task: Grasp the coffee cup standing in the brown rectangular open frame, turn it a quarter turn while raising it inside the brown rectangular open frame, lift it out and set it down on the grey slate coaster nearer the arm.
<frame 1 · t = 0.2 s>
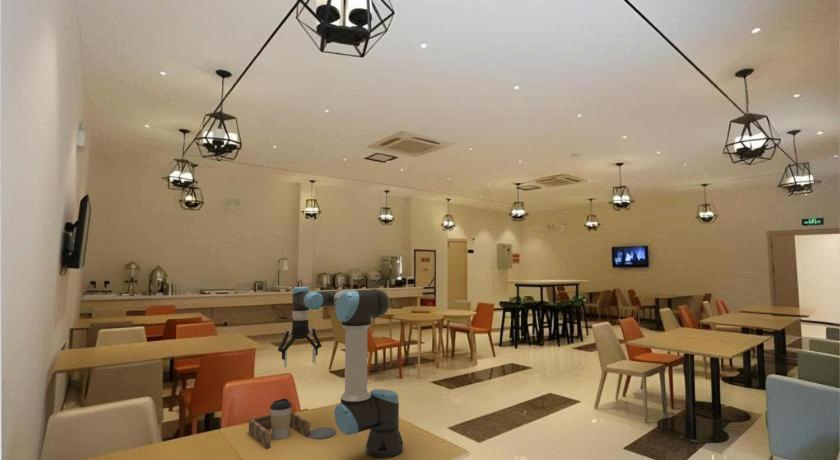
hand: (299, 364, 202), 28 cm above the table, fingers open, 13 cm apart
coffee cup: (280, 436, 187), on the table
brown rectangular open frame: (280, 436, 187), on the table
coaster: (322, 433, 189), on the table
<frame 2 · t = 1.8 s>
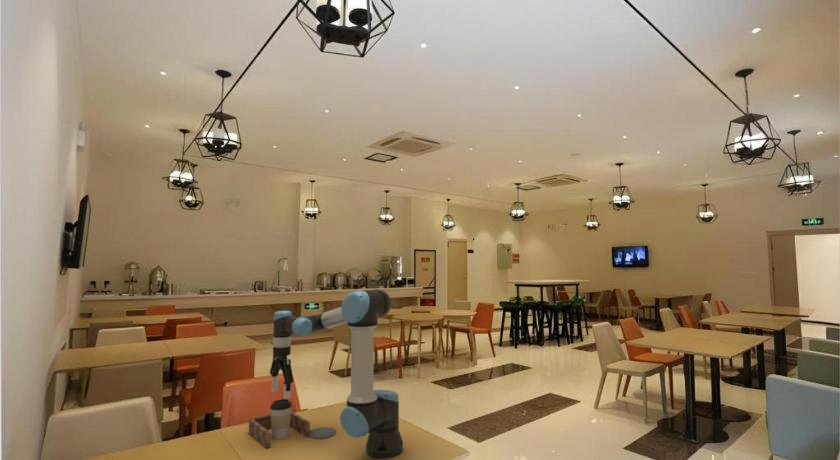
hand: (280, 394, 189), 18 cm above the table, fingers open, 13 cm apart
nothing on the table moved.
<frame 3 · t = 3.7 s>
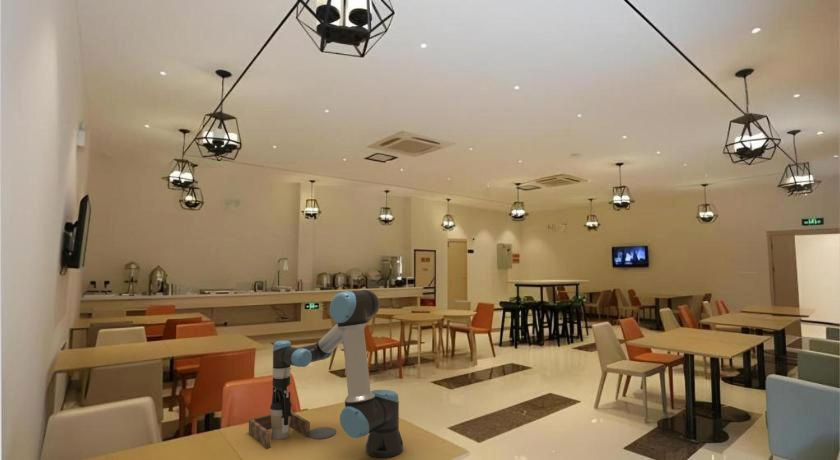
hand: (280, 429, 188), 3 cm above the table, fingers closed on coffee cup, 8 cm apart
coffee cup: (280, 436, 187), on the table, touching gripper
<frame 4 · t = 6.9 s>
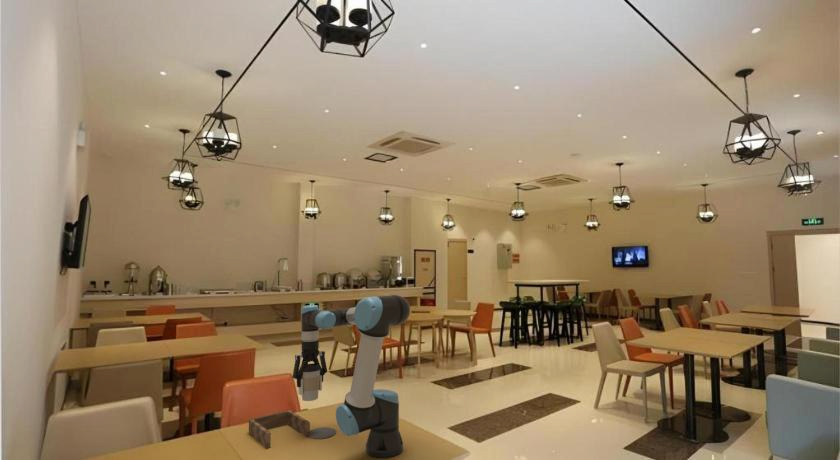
hand: (310, 392, 190), 18 cm above the table, fingers closed on coffee cup, 8 cm apart
coffee cup: (310, 399, 189), point 15 cm above the table, touching gripper
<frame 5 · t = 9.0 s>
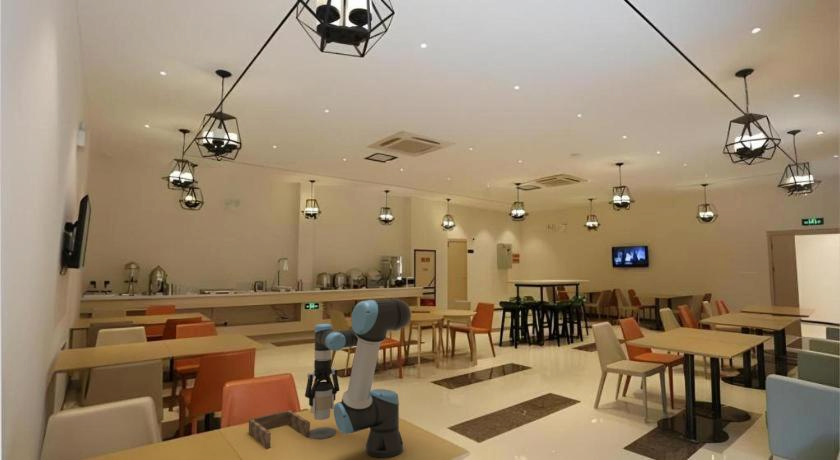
hand: (322, 410, 190), 10 cm above the table, fingers closed on coffee cup, 8 cm apart
coffee cup: (322, 417, 190), point 7 cm above the table, touching gripper
when the fingers open (5 cm above the table, at t = 10.5 s): coffee cup stays where it is, point 2 cm above the table.
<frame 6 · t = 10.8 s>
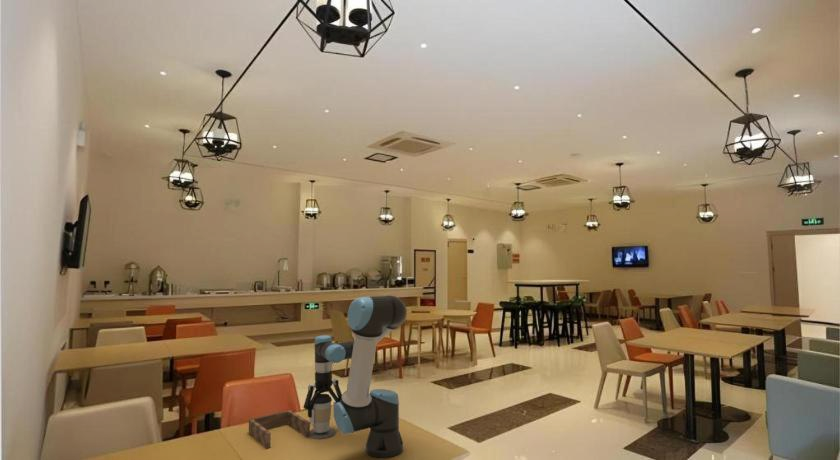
hand: (324, 420, 190), 5 cm above the table, fingers open, 11 cm apart
coffee cup: (321, 430, 189), point 2 cm above the table, touching gripper
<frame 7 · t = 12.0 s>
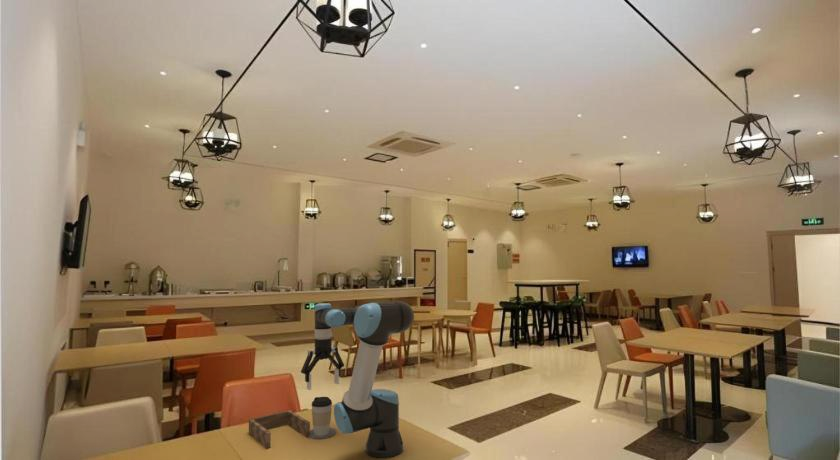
hand: (323, 386, 191), 21 cm above the table, fingers open, 13 cm apart
coffee cup: (321, 433, 189), resting on coaster
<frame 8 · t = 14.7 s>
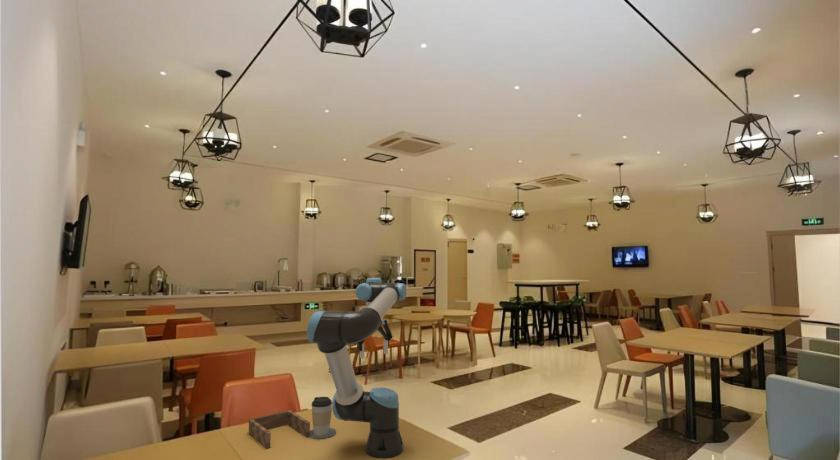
hand: (374, 355, 202), 32 cm above the table, fingers open, 13 cm apart
nothing on the table moved.
at the end: coffee cup 0.6 cm from the coaster (horizontally); coffee cup tilted 0°; the gripper is holding nothing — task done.
